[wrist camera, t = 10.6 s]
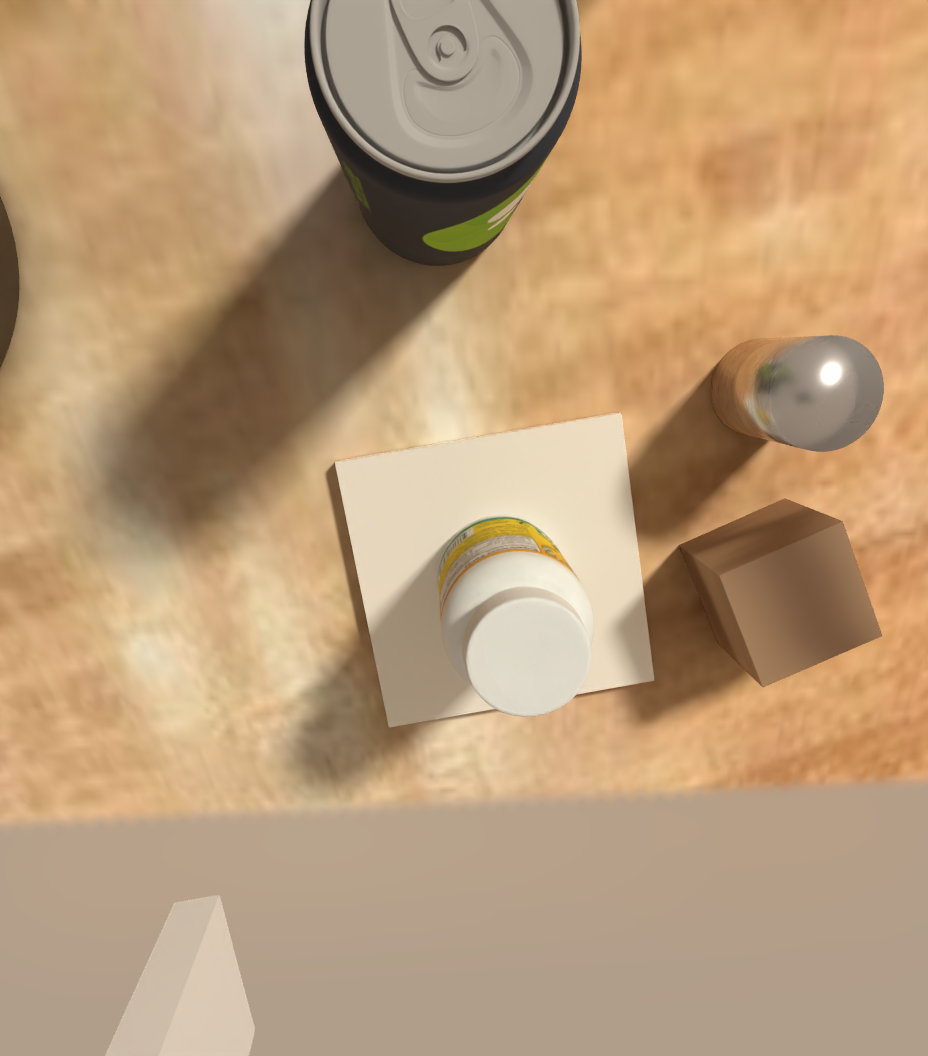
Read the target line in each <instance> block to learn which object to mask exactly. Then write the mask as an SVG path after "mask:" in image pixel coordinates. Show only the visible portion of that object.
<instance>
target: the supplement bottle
mask: <svg viewBox="0 0 928 1056" xmlns="http://www.w3.org/2000/svg"><path fill="white" fill-rule="evenodd" d="M438 590H439V602H440V620H441V633H442V640H443V644H444V648H445V651H446V653H447V656H448V658H449V660H450V662H451V663H452V665H453V667H454V668H455V669H456V671H457V672H458V673H459V674H460V676H461V677H462V678H463V679H464V680H465V681H467V682H468V683H469V684H470V685H471V686H473V688H474V689H475V691H476V692H477V694H478V695H479V696H480V697H481V698H482V699H483V700H484V701H485V702H486V703H488V704H489V705H490V706H491V707H493V708H495V709H497V710H499V711H501V712H503V713H506V714H510V715H515V716H522V717H530V716H539V715H543V714H547V713H550V712H553V711H555V710H556V709H558V708H560V707H562V706H563V705H565V704H566V703H568V702H569V701H570V700H572V699H573V698H574V696H575V695H576V694H577V693H578V692H579V691H580V689H581V688H582V686H583V684H584V683H585V681H586V679H587V676H588V674H589V670H590V666H591V659H592V652H591V645H592V641H593V636H594V614H593V609H592V605H591V602H590V599H589V596H588V594H587V592H586V590H585V588H584V587H583V585H582V584H581V582H580V580H579V579H578V577H577V576H576V574H575V573H574V571H573V570H572V569H571V567H570V566H569V564H568V563H567V561H566V560H565V558H564V557H563V556H562V554H561V553H560V551H559V549H558V548H557V547H556V545H555V544H554V543H553V542H552V540H551V539H550V538H549V537H548V536H547V535H546V534H545V533H544V532H543V531H542V530H540V529H539V528H538V527H537V526H535V525H534V524H532V523H531V522H529V521H527V520H525V519H522V518H519V517H515V516H508V515H496V516H490V517H485V518H482V519H479V520H476V521H474V522H472V523H470V524H469V525H467V526H465V527H464V528H463V529H461V530H460V531H459V532H458V533H457V534H456V535H455V536H454V537H453V538H452V539H451V541H450V542H449V543H448V545H447V547H446V548H445V550H444V552H443V555H442V557H441V560H440V564H439V569H438Z"/></svg>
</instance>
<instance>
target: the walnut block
mask: <svg viewBox="0 0 928 1056" xmlns="http://www.w3.org/2000/svg"><path fill="white" fill-rule="evenodd" d="M679 547H680V549H681V552H682V554H683V557H684V559H685V562H686V564H687V567H688V569H689V572H690V574H691V577H692V579H693V582H694V584H695V587H696V589H697V592H698V594H699V597H700V599H701V602H702V604H703V607H704V609H705V612H706V614H707V617H708V619H709V622H710V624H711V627H712V629H713V632H714V634H715V637H716V639H717V642H718V644H719V645H720V646H721V647H722V648H723V649H724V650H725V651H726V652H727V653H728V654H729V655H730V656H731V657H733V658H734V659H735V660H736V661H737V662H738V663H739V664H740V665H741V666H742V667H743V668H744V669H745V670H746V671H747V672H748V673H749V674H750V675H751V676H752V677H753V678H754V679H755V680H756V681H757V682H758V683H759V684H760V685H761V686H762V687H765V686H767V685H770V684H772V683H774V682H777V681H779V680H781V679H783V678H786V677H788V676H790V675H793V674H795V673H797V672H800V671H802V670H804V669H807V668H809V667H811V666H814V665H816V664H818V663H821V662H823V661H825V660H828V659H830V658H832V657H834V656H837V655H839V654H841V653H844V652H846V651H848V650H851V649H853V648H855V647H858V646H860V645H862V644H865V643H867V642H869V641H872V640H874V639H876V638H879V637H881V636H882V634H881V631H880V628H879V625H878V622H877V619H876V616H875V613H874V611H873V608H872V605H871V602H870V599H869V596H868V593H867V590H866V587H865V585H864V582H863V579H862V576H861V573H860V570H859V567H858V564H857V561H856V559H855V556H854V553H853V550H852V547H851V544H850V541H849V538H848V535H847V533H846V530H845V527H844V524H843V521H840V520H838V519H835V518H833V517H830V516H828V515H825V514H823V513H820V512H818V511H815V510H813V509H810V508H808V507H805V506H803V505H800V504H798V503H795V502H793V501H790V500H788V499H783V500H780V501H778V502H776V503H774V504H771V505H769V506H767V507H765V508H762V509H760V510H758V511H755V512H753V513H751V514H749V515H746V516H744V517H742V518H740V519H737V520H735V521H733V522H731V523H728V524H726V525H724V526H722V527H719V528H717V529H715V530H712V531H710V532H708V533H706V534H703V535H701V536H699V537H697V538H694V539H692V540H690V541H688V542H685V543H683V544H681V545H679Z"/></svg>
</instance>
